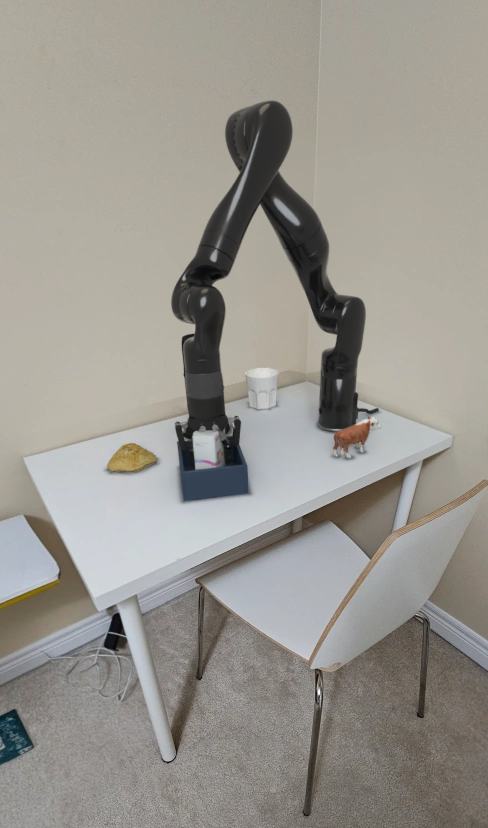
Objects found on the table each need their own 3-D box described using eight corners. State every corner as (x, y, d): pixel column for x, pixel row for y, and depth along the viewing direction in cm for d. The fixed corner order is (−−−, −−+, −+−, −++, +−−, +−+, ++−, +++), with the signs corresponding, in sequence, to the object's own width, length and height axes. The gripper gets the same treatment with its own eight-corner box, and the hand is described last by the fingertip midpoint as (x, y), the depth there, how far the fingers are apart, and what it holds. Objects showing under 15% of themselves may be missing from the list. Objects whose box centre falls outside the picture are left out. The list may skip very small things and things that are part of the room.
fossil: (122, 452, 105) (100, 440, 111) (121, 478, 107) (99, 465, 113) (164, 448, 113) (141, 437, 119) (162, 472, 115) (139, 460, 121)
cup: (285, 403, 145) (285, 371, 140) (263, 413, 139) (263, 380, 134) (261, 396, 151) (260, 365, 146) (239, 405, 145) (237, 373, 140)
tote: (237, 460, 113) (236, 435, 110) (248, 493, 100) (247, 465, 97) (180, 466, 112) (176, 441, 108) (183, 501, 98) (180, 473, 95)
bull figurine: (381, 448, 116) (385, 417, 112) (338, 463, 110) (340, 430, 106) (369, 442, 119) (372, 412, 115) (326, 456, 114) (328, 424, 110)
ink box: (218, 487, 101) (214, 436, 96) (196, 485, 102) (190, 435, 96) (228, 468, 109) (224, 420, 103) (207, 467, 110) (202, 419, 104)
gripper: (237, 382, 100) (241, 454, 108) (168, 388, 98) (177, 460, 106) (243, 393, 93) (246, 469, 102) (169, 400, 91) (179, 476, 100)
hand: (211, 464), depth 104 cm, fingers closed on ink box, 6 cm apart
